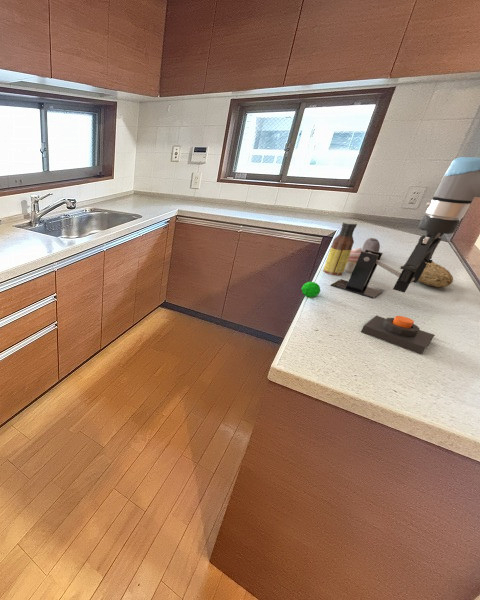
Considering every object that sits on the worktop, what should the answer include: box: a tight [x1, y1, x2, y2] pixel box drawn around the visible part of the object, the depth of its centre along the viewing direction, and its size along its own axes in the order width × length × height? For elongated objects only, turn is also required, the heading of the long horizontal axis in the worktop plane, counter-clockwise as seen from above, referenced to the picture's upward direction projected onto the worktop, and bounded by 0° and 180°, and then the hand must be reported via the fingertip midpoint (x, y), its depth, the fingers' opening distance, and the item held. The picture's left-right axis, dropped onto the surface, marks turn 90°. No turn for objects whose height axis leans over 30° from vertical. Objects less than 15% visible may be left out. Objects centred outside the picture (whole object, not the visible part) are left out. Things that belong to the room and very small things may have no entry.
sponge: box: [418, 261, 454, 288], centre depth 119 cm, size 13×8×20 cm
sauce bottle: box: [322, 221, 358, 277], centre depth 120 cm, size 7×6×20 cm
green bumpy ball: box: [301, 281, 321, 298], centre depth 105 cm, size 5×5×5 cm
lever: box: [368, 252, 415, 284], centre depth 103 cm, size 14×6×2 cm, turn 35°
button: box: [392, 315, 415, 328], centre depth 82 cm, size 4×4×2 cm
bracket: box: [330, 249, 384, 299], centre depth 108 cm, size 12×9×14 cm
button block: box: [360, 315, 435, 355], centre depth 84 cm, size 12×10×4 cm
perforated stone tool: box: [362, 237, 381, 252], centre depth 145 cm, size 15×5×7 cm, turn 145°
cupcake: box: [343, 247, 363, 274], centre depth 125 cm, size 9×9×10 cm
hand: (405, 285), depth 100 cm, fingers open, 13 cm apart
